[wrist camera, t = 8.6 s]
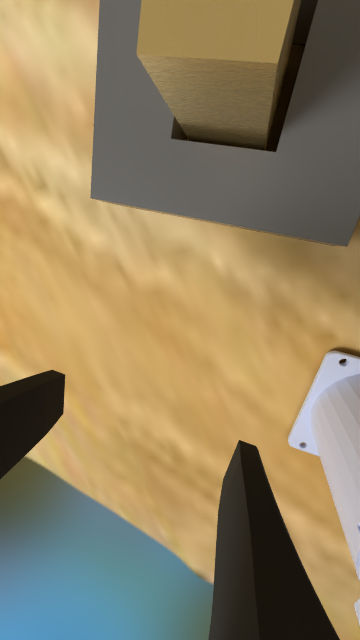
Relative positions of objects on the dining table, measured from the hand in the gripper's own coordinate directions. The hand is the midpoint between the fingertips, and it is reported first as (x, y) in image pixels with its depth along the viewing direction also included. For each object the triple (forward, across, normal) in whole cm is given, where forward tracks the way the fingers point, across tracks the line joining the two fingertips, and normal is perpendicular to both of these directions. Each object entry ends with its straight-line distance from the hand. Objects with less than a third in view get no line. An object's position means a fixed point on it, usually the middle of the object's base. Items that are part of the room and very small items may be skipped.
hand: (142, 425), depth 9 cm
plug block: (+9, +1, -14) cm, 17 cm away
